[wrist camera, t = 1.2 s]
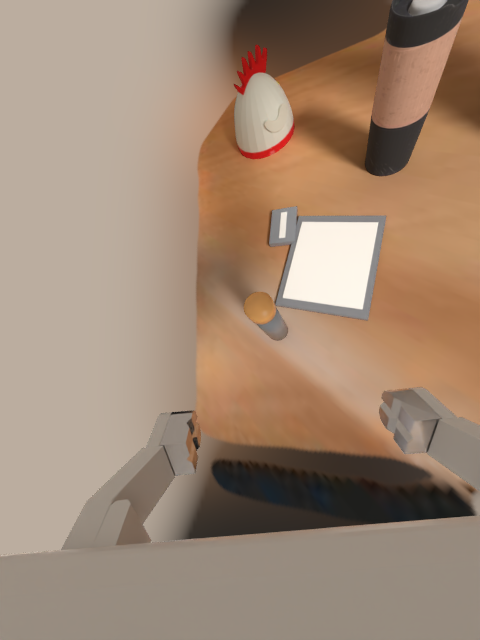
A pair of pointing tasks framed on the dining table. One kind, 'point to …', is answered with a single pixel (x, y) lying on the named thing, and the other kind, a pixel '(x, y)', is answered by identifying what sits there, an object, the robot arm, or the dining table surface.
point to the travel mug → (409, 77)
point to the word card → (283, 226)
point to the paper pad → (333, 265)
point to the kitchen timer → (261, 110)
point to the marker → (265, 315)
